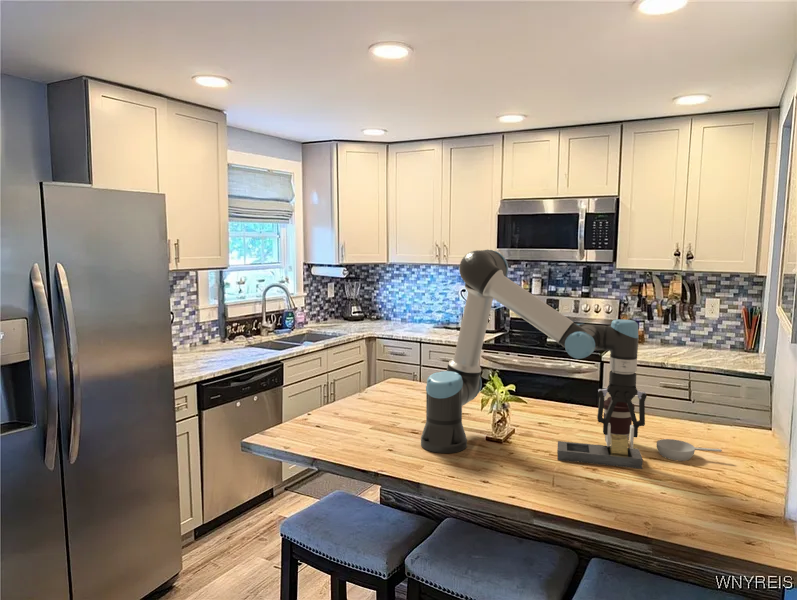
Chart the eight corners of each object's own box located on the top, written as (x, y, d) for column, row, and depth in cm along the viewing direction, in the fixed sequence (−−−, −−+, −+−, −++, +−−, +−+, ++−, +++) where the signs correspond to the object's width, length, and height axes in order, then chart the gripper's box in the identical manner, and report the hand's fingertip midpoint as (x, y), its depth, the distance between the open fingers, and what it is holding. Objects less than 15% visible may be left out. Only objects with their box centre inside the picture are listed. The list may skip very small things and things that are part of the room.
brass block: (610, 459, 170) (610, 434, 170) (625, 460, 169) (626, 435, 168) (611, 464, 166) (611, 439, 165) (627, 466, 165) (627, 440, 164)
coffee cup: (635, 449, 177) (637, 404, 176) (603, 447, 179) (605, 402, 178) (629, 438, 187) (631, 395, 185) (598, 436, 189) (600, 393, 187)
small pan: (654, 447, 179) (655, 436, 179) (717, 455, 173) (718, 443, 172) (657, 459, 169) (657, 447, 169) (724, 468, 163) (724, 456, 162)
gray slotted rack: (557, 460, 169) (557, 450, 168) (557, 450, 177) (557, 441, 176) (642, 469, 162) (642, 459, 162) (638, 458, 170) (638, 448, 170)
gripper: (590, 372, 164) (587, 447, 166) (659, 376, 159) (655, 453, 161) (588, 366, 171) (586, 438, 173) (655, 370, 166) (651, 444, 168)
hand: (619, 445), depth 167 cm, fingers open, 6 cm apart
